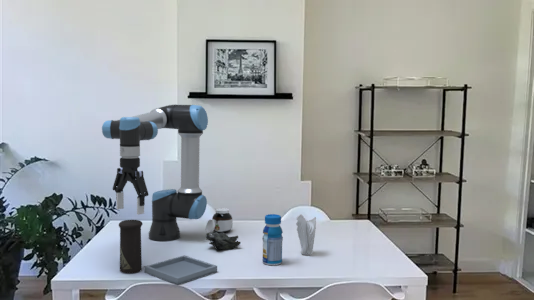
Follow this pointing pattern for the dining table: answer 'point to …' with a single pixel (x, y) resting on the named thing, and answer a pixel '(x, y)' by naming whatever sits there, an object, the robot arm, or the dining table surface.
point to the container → (130, 246)
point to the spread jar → (220, 222)
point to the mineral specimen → (222, 240)
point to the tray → (180, 269)
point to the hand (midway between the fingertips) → (130, 211)
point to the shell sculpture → (306, 234)
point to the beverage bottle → (272, 240)
